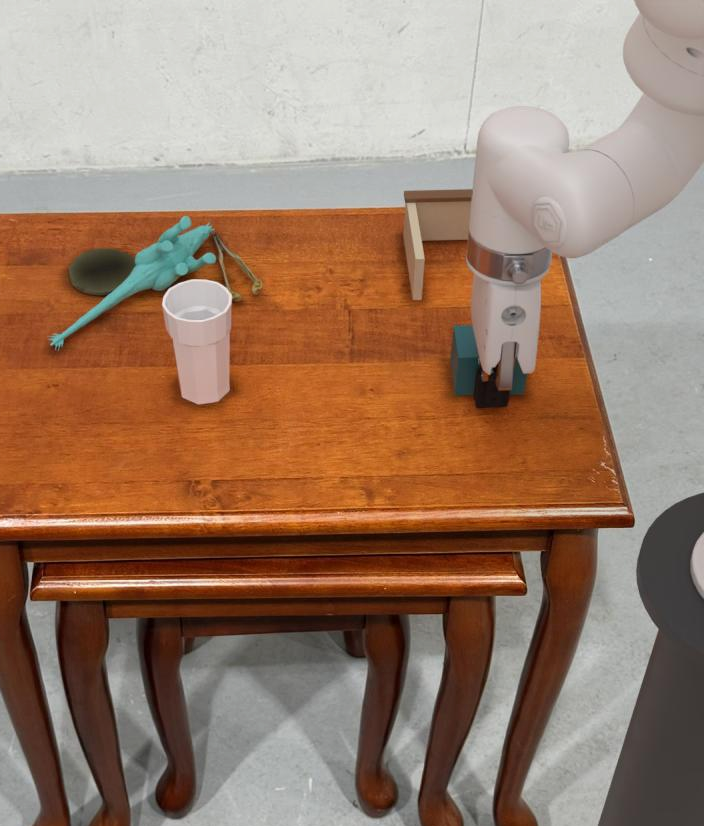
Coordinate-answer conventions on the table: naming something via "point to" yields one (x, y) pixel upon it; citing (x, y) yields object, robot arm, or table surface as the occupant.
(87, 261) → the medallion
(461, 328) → the box
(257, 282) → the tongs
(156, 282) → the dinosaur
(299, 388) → the table surface
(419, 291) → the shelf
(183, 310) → the cup
